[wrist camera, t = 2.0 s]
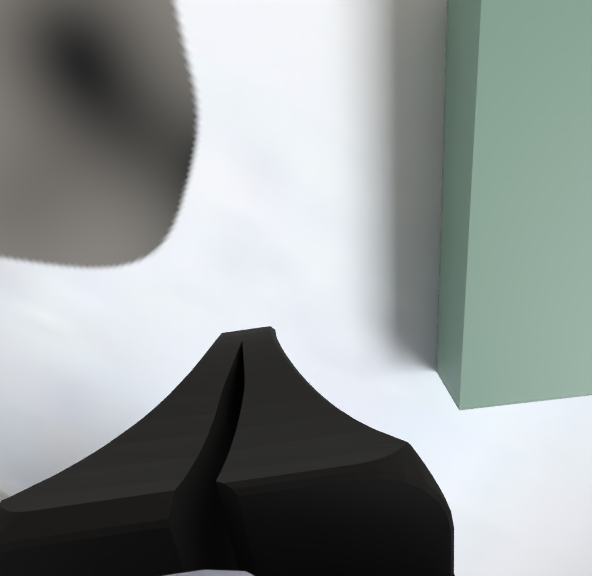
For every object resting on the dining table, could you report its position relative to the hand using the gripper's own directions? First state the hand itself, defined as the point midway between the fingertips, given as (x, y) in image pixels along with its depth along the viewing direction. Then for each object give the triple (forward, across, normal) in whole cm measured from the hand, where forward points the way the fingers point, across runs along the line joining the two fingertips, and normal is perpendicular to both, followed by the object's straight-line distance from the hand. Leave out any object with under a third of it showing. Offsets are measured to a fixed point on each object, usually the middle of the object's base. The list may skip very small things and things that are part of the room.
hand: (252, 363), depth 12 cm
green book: (+10, -14, 0) cm, 17 cm away
